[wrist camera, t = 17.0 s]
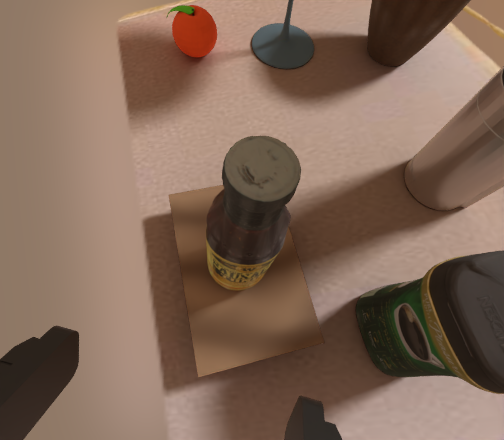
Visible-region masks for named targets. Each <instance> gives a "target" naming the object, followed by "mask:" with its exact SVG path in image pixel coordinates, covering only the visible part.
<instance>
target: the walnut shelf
mask: <svg viewBox="0 0 504 440" xmlns="http://www.w3.org/2000/svg"><path fill="white" fill-rule="evenodd" d="M223 189H224V186H223V185H220V186H215V187H209V188H204V189H198V190H193V191H187V192H182V193H176V194H171V195H169V200H170V206H171V212H172V218H173V224H174V231H175V237H176V243H177V249H178V255H179V262H180V268H181V274H182V280H183V286H184V292H185V299H186V305H187V311H188V317H189V323H190V330H191V336H192V342H193V348H194V354H195V360H196V367H197V373H198V377H201V376H205V375H209V374H212V373H216V372H220V371H223V370H227V369H230V368H234V367H238V366H241V365H245V364H249V363H252V362H256V361H260V360H263V359H267V358H270V357H274V356H278V355H281V354H285V353H289V352H292V351H296V350H299V349H303V348H307V347H310V346H314V345H318V344H321V343H324V339H323V336H322V333H321V330H320V326H319V323H318V320H317V317H316V313H315V310H314V307H313V304H312V300H311V297H310V294H309V291H308V287H307V284H306V281H305V278H304V274H303V271H302V268H301V265H300V261H299V258H298V255H297V252H296V248H295V245H294V242H293V239H292V235H291V232H290V229H289V226H288V230H287V233H286V237H285V241H284V244H283V247H282V249H281V250H280V252H279V254H278V255H277V257H276V258H275V259H274V261H273V262H272V264H271V265H270V267H269V268H268V270H267V271H266V273H265V274H264V276H263V277H262V279H261V280H260V281H259V282H258V283H257V284H256V285H254V286H253V287H251V288H248V289H246V290H241V291H235V290H232V291H231V290H229V289H226V288H224V287H222V286H220V285H218V284H217V282H216V281H215V280H214V279H213V277H212V276H211V274H210V271H209V268H208V263H207V245H206V226H207V222H206V219H207V214H208V211H209V209H210V207H211V205H212V203H213V200H214V198H215V197H216V196H217V195H218V194H219V193H220V192H221V191H222V190H223Z"/></svg>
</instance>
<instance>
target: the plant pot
mask: <svg viewBox="0 0 504 440" xmlns="http://www.w3.org/2000/svg"><path fill="white" fill-rule="evenodd" d="M469 2H470V0H372V4H371V10H370V18H369V28H368V42H367V49H368V53H369V55H370V56H371V57H372V58H373V59H374V60H375V61H377V62H378V63H380V64H383V65H386V66H399V65H402V64H404V63H405V62H406V61H408V60H409V59H410V58H411V57H413V56H414V55H415V54H416V53H417V52H419V51H420V50H421V49H422V48H423V47H424V46H426V45H427V44H428V43H429V42H430V41H431V40H432V39H433V38H434V37H435V36H436V35H437V34H439V33H440V32H441V31H442V30H443V29H444V28H445V27H446V26H447V25H448V24H449V23H450V22H451V21H452V20H453V19H454V18H455V17H456V15H457V14H458V13H459V12H460V11H461V10H462V9H463V8H464V7H465V6H466V5H467V3H469Z"/></svg>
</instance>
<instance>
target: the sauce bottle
mask: <svg viewBox="0 0 504 440" xmlns="http://www.w3.org/2000/svg"><path fill="white" fill-rule="evenodd" d="M300 174H301V167H300V163H299V160H298V158H297V156H296V155H295V153H294V152H293V151H292V149H290V148H289V147H288V146H287V145H286V144H285V143H283V142H281V141H280V140H278V139H275V138H272V137H269V136H250V137H246V138H244V139H241V140H240V141H238V142H237V143H235V144H234V146H233V147H231V148H230V150H229V152H228V153H227V154H226V157H225V160H224V165H223V170H222V179H223V186H224V189H223V190H222V191H221V192H220V193H219V194H218V195H217V196H216V197H215V198H214V200H213V203H212V205H211V207H210V209H209V211H208V214H207V219H206V222H207V226H206V245H207V263H208V268H209V271H210V274H211V276H212V277H213V279H214V280H215V281H216V282H217V284H218V285H220V286H222V287H224V288H226V289H229V290H231V291H232V290H235V291H241V290H246V289H248V288H251V287H253V286H254V285H256V284H257V283H258V282H259V281H260V280H261V279H262V277H263V276H264V274H265V273H266V271H267V270H268V268H269V267H270V265H271V264H272V262H273V261H274V259H275V258H276V257H277V255H278V254H279V252H280V250H281V249H282V247H283V244H284V241H285V237H286V233H287V230H288V226H289V222H290V218H291V215H290V213H289V211H288V210H287V208H286V206H285V204H287V203H288V202H289V201H290V200H291V198H292V197H293V195H294V193H295V191H296V188H297V185H298V183H299V180H300Z"/></svg>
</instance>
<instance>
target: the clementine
mask: <svg viewBox="0 0 504 440" xmlns="http://www.w3.org/2000/svg"><path fill="white" fill-rule="evenodd" d="M171 11H179V12H178V13H177V14H176V16H175V18H174V21H173V24H172V32H173V37H174V40H175V43H176V44H177V46H178V47H179V49H180V50H181V51H182V52H184V53H185V54H187V55H188V56H191V57H202V56H205V55H207V54H208V53H209V52H210V51H211V50H212V49H213V48H214V45H215V43H216V40H217V29H216V24H215V22H214V20H213V18H212V16H211V15H210V14H209V13H208V12H207V11H206V10H205V9H203V8H201V7H199V6H195V5H190V6H177V7H175V8H173V9H171V10H170V12H171ZM170 12H169V13H170ZM169 13H168V14H169ZM167 17H168V15H167Z"/></svg>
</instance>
